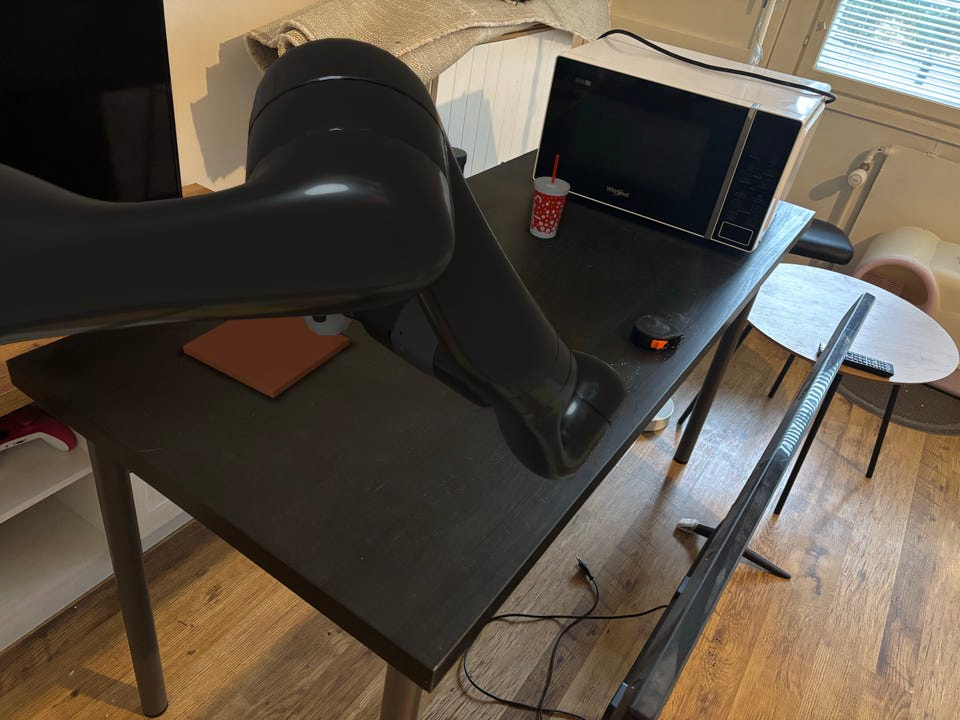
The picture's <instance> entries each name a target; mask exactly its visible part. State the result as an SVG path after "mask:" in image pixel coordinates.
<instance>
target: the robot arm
mask: <svg viewBox="0 0 960 720" xmlns="http://www.w3.org/2000/svg"><path fill="white" fill-rule="evenodd" d="M248 121H249V122H248V128H247V129H248V130H247V145H246V146H247V147H246V159H245V160H246V161H245V177H244V183H241V184H238V185H235V186H232V187H228V188H224V189H221V190H217V191H213V192H208V193H202V194H196V195H191V196H184V197H183V196H182V197H174V198H166V199H165V198H164V199H157V200H155V199H154V200H144V201H130V202H128V201H127V202H126V201H125V202H124V201H123V202H121V201H119V202H118V201H117V202H116V201H109V200H101V199H96V198H92V197H88V196H85V195H82V194H80V193H77V192H74V191H71V190H69V189H67V188H64V187H61V186H59V185H57V184H54V183H52V182H50V181H47V180H45V179H44V178H41V177H38V176H35V175H34V174H31V173H28V172H26V171H23V170H21V169H18V168H15V167H13V166H11V165H10V166H9V165H7V164H4V163H1V162H0V346H5V345H11V344H17V343H24V342H32V341H39V340H45V339H52V338H54V339H55V338H61V337H66V336H74V335H75V336H76V335H81V334H90V333H96V332H103V331H114V330H115V331H116V330H123V329H131V328H132V329H133V328H140V327H150V326H161V325H173V324H174V325H175V324H187V323H207V322H227V321H229V320H247V319H267V318H287V317H303V316H312V318H313V320H314V321H315V322H317V323H322V322H325V321H326V315H332V314H341V313H342V314H343V315H344V316H345V317H347V318H350V319H352V320H354V321H357V322H358V323H360V324H361V326H362V327H363V329H364V330H365V332H366V333H367V335H368V336H369V337H371V339H373V340H374V341H376V342H378V343H379V344H380V345H382V346H383V347H384V348H386V349H388V350H389V351H390V352H392V353H394V354H395V355H396V356H398V357H399V358H401V359H402V360H403V361H405V362H406V363H408V364H409V365H411V366H412V367H413V368H415V369H417V370H418V371H420V372H421V373H423V374H425V375H428V376H430V377H432V378H434V379H436V380H437V381H439V382H441V383H442V384H444V385H445V386H447V387H448V388H450V390H453V391H454V392H455V393H457V394H458V395H460V397H463V398H464V399H466V400H467V401H468V402H470V403H471V404H473V405H475V406H477V407H479V408H482V409H483V408H484V409H491V408H492V410H493V412H494V414H495V417H496V419H497V420H496V421H497V423H498V426H499V429H500V433H501V434H502V437H503V439H504V441H505V443H506V445H507V447H508V448H509V450H510V451H511V453H512V454H513V455H514V457H515V458H516V460H517V461H518V462H519V463H521V465H522V466H524V467H525V469H527V470H528V471H530V472H531V473H533V475H534V474H535V475H536V476H538V477H540V478H543V479H546V480H551V481H561V480H565V479H568V478H572V477H573V476H575V475H576V474H577V473H579V472H580V471H581V469H582V468H584V466H585V465H586V463H587V462H588V460H589V459H590V458H591V456H592V455H593V453H594V452H595V450H597V448H598V447H599V444H601V442H602V441H603V439H604V438H605V437H606V435H607V433H608V432H609V431H610V429H611V427H612V426H613V425H614V423H615V422H616V421H617V420H618V418H619V417H620V415H621V414H622V412H623V411H624V409H625V406H626V404H627V401H628V390H627V386H626V382H625V381H624V379H623V377H622V376H621V374H620V373H619V371H618V370H617V369H615V367H614V366H612V365H611V364H610V363H609V362H607V361H606V360H604V359H602V358H600V357H598V356H595V355H593V354H591V353H588V352H584V351H581V350H579V349H575V348H571V346H570V345H569V343H568V342H567V341H566V339H565V338H564V337H563V335H562V334H561V332H560V331H559V330H558V328H557V327H556V325H555V324H554V323H553V322H552V320H551V319H550V318H549V316H548V315H547V313H546V312H545V310H544V309H543V308H542V306H541V305H540V303H539V302H538V301H537V299H536V298H535V296H533V294H532V293H531V292H530V290H529V288H528V287H527V285H526V284H525V283H524V281H523V280H522V278H521V276H520V275H519V273H518V271H517V270H516V268H515V267H514V265H513V263H512V262H511V260H510V259H509V257H508V256H507V254H506V252H505V250H504V248H503V247H502V245H501V244H500V242H499V240H498V239H497V236H496V235H495V233H494V231H493V230H492V228H491V226H490V224H489V222H488V221H487V219H486V216H485V215H484V214H483V211H482V209H481V208H480V206H479V204H478V202H477V200H476V197H475V196H474V194H473V192H472V190H471V188H470V185H469V183H468V182H467V180H466V177H465V175H463V173H462V171H461V168H460V166H459V164H458V161H457V159H456V156H455V154H454V152H453V149H452V147H453V146H452V145H451V142H450V140H449V137H448V135H447V132H446V129H445V127H444V125H443V122H442V119H441V116H440V114H439V112H438V108H437V106H436V104H435V102H434V100H433V97H432V95H431V93H430V91H429V89H428V88H427V86H426V85H425V83H424V81H422V78H421V77H419V75H417V73H416V72H415V71H414V70H413V69H412V68H411V67H410V66H409V65H408V64H406V62H404V61H403V60H401V59H400V58H399V57H397V56H395V55H394V54H392V53H391V52H390V51H388V50H386V49H383V48H381V47H379V46H377V45H375V44H372V43H370V42H366V41H362V40H357V39H353V38H347V37H326V38H320V39H313V40H309V41H306V42H304V43H301V44H298V45H296V46H293V47H292V48H290V49H288V50H286V51H285V52H284V53H283V54H281V55H279V57H278V58H276V59H275V61H274V62H272V64H271V65H269V67H268V68H267V69H266V70H265V72H264V74H263V76H262V78H261V80H260V82H259V84H258V86H257V87H256V90H255V95H254V99H253V102H252V107H251V111H250V115H249V120H248Z"/></svg>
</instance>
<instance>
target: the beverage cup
mask: <svg viewBox="0 0 960 720" xmlns="http://www.w3.org/2000/svg"><path fill="white" fill-rule="evenodd" d="M559 159H560V154H556V155H555V161H554V165H553V171H552V176H540V177H537V178H535V179H534V181H533V188H534V191H533V201H532V208H531V218H530V225H529V232H530V234H531V235H533V236H534V237H537V238H539V239H540V238H541V239H552V238H555V237H556V234H557V230H558V227H559V224H560V221H561V217H562V212H563V209H564V207H565V206H564V205H565V202H566V199H567V195H568V194H569V193H570V189H571V185H570V184H569V183H568V182H567V181H565V180H563V179H560V178H557V177H556V175H557V169H558V165H559Z"/></svg>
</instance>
